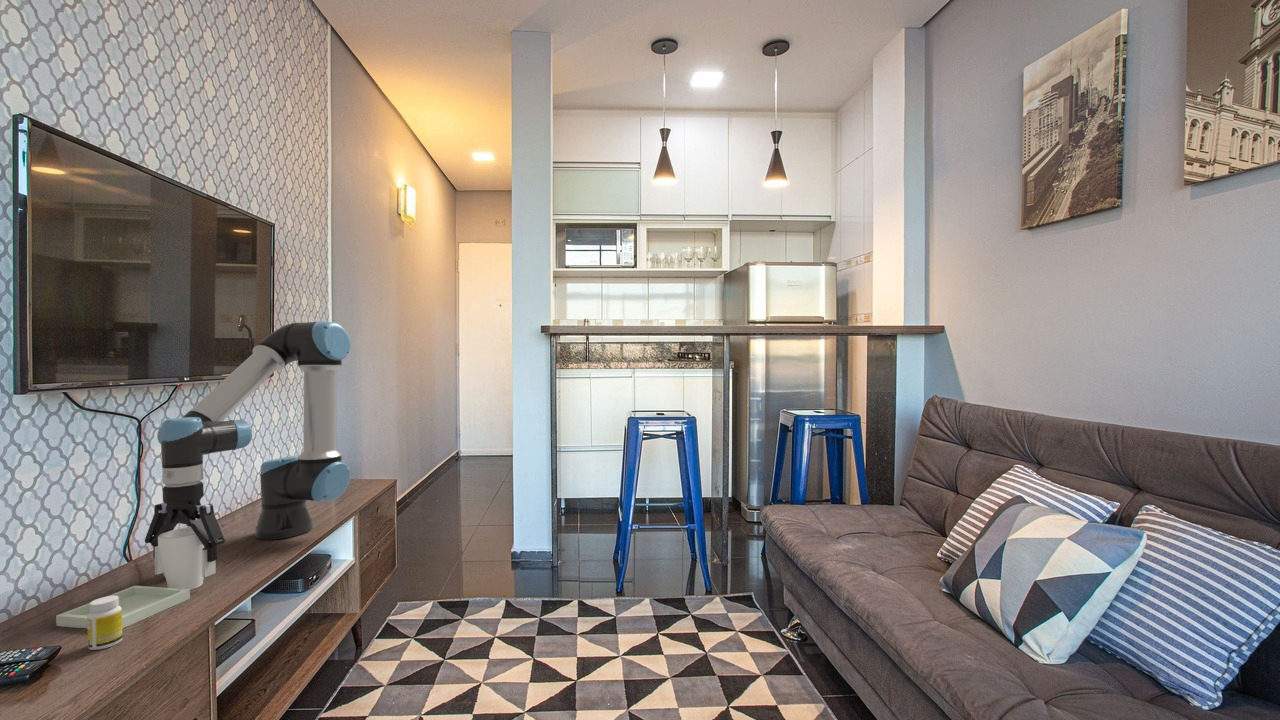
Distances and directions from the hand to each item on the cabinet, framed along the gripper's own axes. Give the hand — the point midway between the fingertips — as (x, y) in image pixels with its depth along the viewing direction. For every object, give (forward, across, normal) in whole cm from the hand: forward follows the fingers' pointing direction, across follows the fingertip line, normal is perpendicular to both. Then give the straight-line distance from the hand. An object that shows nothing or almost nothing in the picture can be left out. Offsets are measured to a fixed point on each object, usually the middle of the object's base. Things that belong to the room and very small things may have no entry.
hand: (185, 573), depth 133 cm
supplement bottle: (+3, +11, -25) cm, 28 cm away
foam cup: (+3, 0, 0) cm, 3 cm away
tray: (+3, 0, -13) cm, 13 cm away
